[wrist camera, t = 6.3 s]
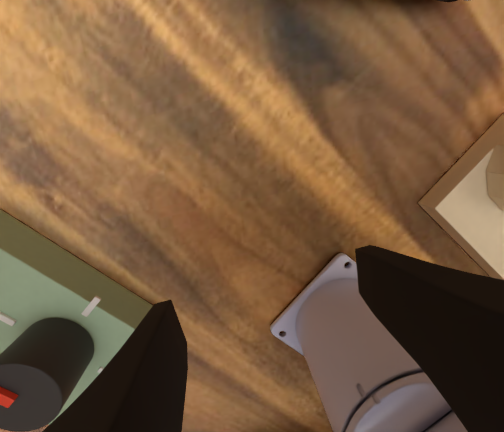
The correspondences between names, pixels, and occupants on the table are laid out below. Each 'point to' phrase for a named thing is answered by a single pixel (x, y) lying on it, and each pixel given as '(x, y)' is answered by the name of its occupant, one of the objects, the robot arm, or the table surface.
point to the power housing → (475, 201)
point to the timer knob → (41, 372)
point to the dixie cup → (450, 0)
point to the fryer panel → (61, 296)
